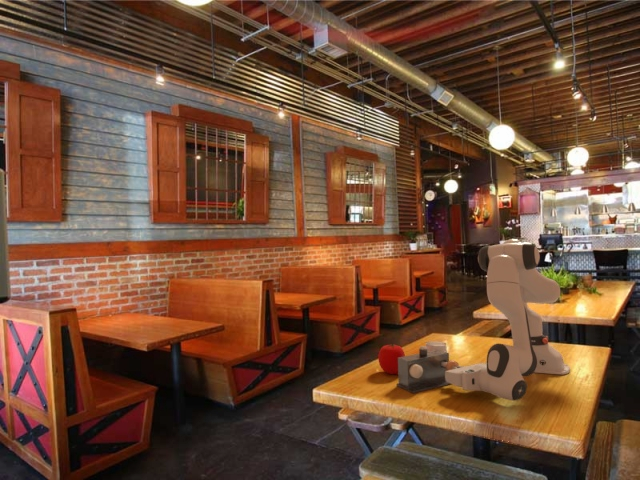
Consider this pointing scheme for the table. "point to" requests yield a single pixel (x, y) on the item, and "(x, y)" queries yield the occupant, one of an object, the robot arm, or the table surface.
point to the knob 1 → (416, 371)
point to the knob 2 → (449, 364)
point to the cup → (436, 346)
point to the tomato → (390, 358)
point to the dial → (423, 351)
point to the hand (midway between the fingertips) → (454, 368)
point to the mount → (431, 371)
